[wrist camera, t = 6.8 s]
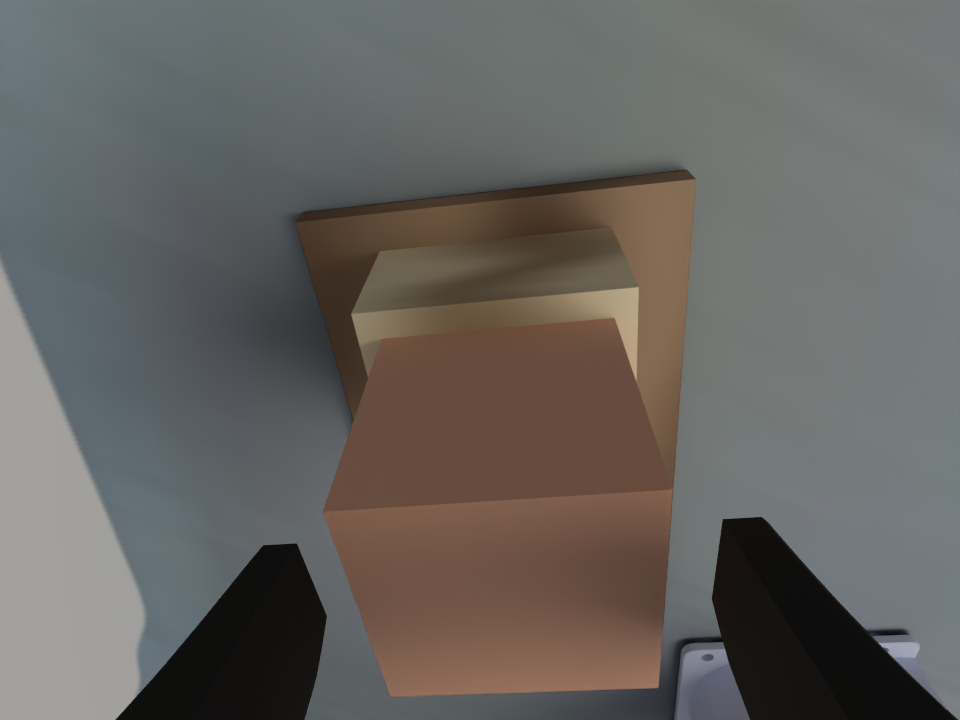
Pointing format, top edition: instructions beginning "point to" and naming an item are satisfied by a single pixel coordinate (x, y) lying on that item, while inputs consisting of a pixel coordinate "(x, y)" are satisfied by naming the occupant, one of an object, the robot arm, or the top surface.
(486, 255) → the birch block
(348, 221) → the base plate
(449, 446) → the terracotta block
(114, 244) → the top surface
